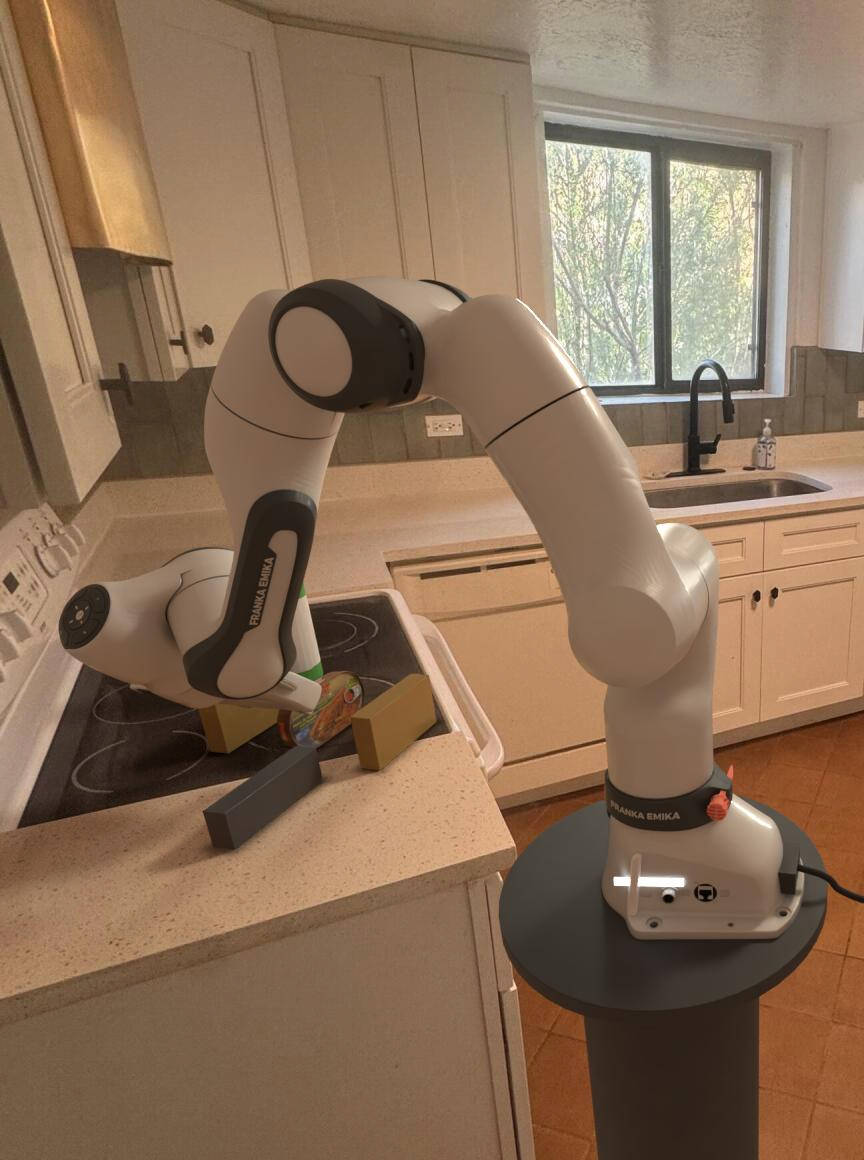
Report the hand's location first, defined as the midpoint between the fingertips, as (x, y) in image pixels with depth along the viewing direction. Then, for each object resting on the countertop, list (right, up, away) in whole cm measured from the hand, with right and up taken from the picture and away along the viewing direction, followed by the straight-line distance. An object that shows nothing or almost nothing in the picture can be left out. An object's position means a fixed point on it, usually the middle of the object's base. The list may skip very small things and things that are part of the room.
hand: (278, 705), depth 106 cm
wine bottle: (-13, 0, +27) cm, 30 cm away
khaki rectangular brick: (+13, -7, +8) cm, 16 cm away
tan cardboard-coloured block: (-11, -5, +12) cm, 17 cm away
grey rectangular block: (+4, -12, -8) cm, 15 cm away
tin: (+1, -6, +11) cm, 12 cm away
